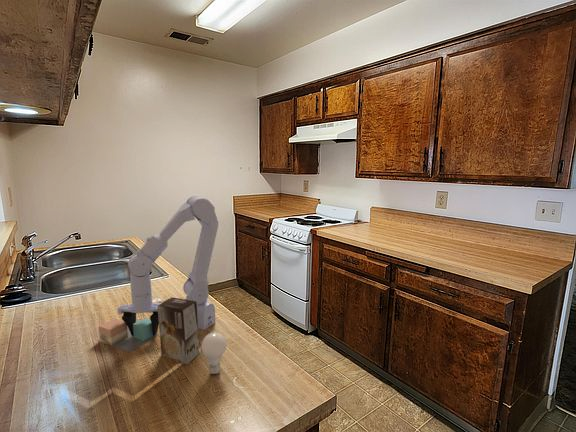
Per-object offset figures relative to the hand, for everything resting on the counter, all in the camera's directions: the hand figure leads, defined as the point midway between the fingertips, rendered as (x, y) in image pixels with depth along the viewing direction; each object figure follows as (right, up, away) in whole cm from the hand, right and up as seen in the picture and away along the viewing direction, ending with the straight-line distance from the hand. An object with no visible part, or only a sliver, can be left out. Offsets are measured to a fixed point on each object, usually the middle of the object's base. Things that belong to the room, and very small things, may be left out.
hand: (144, 334), depth 101 cm
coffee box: (+14, -3, -9) cm, 17 cm away
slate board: (-5, -2, -1) cm, 5 cm away
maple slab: (-9, -1, -2) cm, 9 cm away
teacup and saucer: (-8, +1, +24) cm, 25 cm away
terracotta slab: (-9, +2, -2) cm, 9 cm away
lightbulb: (+26, -4, -17) cm, 31 cm away
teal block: (0, -1, 0) cm, 1 cm away
